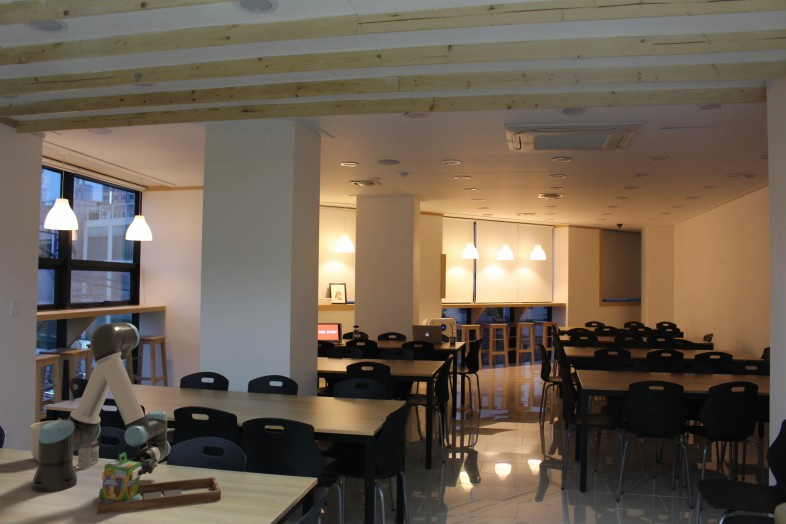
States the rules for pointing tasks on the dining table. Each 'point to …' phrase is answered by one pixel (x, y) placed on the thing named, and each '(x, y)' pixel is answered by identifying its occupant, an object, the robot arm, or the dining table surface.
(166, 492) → the mats
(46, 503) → the dining table surface
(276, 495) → the dining table surface
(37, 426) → the planter
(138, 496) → the mat
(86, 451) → the french press
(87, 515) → the dining table surface
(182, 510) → the dining table surface
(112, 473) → the chalk box
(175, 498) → the brown wooden tray
